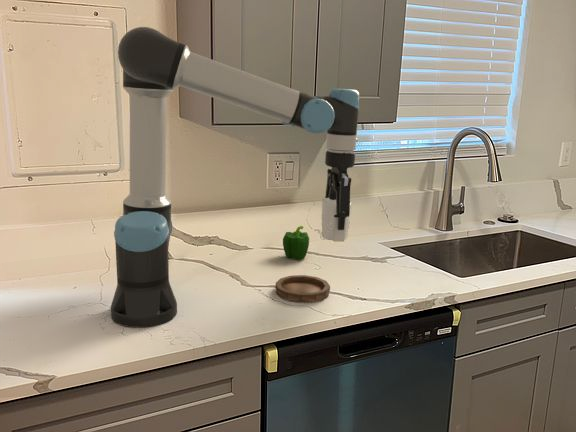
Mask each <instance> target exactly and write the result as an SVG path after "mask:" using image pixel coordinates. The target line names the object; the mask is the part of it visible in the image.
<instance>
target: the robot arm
mask: <svg viewBox="0 0 576 432" xmlns="http://www.w3.org/2000/svg"><path fill="white" fill-rule="evenodd" d="M117 56H118V57H117V59H118V61H119V65H120V66H121V68H122V89H123V90H124V91H125V92H126V93H127V94H128V95H129V194H128V196H127V197H125V198H124V199H123V203H122V205H123V206H122V207H123V209H122V211H123V213H122V216H120V217H119V218H118V219H117V220H116V222H115V224H114V231H113V237H114V240H115V241H114V242H115V257H116V258H115V260H116V263H115V264H116V281H117V283H116V284H117V285H116V288H115V292H114V295H113V298H112V301H111V305H110V319H111V320H112V321H113V322H114V323H116V324H118V325H121V326H124V327H131V328H148V327H155V326H160V325H162V324H164V323H167V322H169V321H171V320H172V319H174V318H175V317H176V316H177V314H178V301H177V299H176V297H175V294H174V291H173V288H172V287H171V283H170V276H169V275H170V273H169V272H170V270H169V269H170V268H169V264H170V263H169V246H170V241H171V240H170V239H171V235H172V232H173V221H172V200H171V199H170V198H169V197H168V196H167V195H166V169H167V167H166V166H167V165H166V163H167V160H166V159H167V158H166V157H167V113H168V111H167V109H168V107H167V106H168V105H167V104H168V103H167V102H168V97H169V96H170V95H171V94H172V93H173V92H174V90H175V89H177V88H180V87H182V88H185V89H188V90H191V91H193V92H196V93H199V94H203V95H204V96H207V97H211V98H214V99H217V100H218V101H219V100H220V101H222V102H225V103H227V104H230V105H234V106H237V107H241V108H243V109H246V110H249V111H252V112H254V113H256V114H260V115H263V116H266V117H270V118H271V119H275V120H278V121H280V122H281V124H283V125H284V126H290V127H297V128H300V129H304V130H305V131H307V132H309V133H312V134H323V133H325V132H326V140H325V141H326V142H325V148H326V149H327V150H326V151H325V161H324V163H325V165H326V166H327V167H330V168H328V169H327V171H326V172H327V179H326V189H325V196H324V198H329V199H331V200H336V204H337V205H336V212H337V215H334V217H335V225H334V239H333V242H334V243H335V242H336V243H339V242H345V240H344V238H345V225H346V217H349V215H350V214H349V212H350V200H351V184H352V177H349V174H348V169H349V168H353V167H354V166H355V160H356V153H355V150H356V147H357V146H356V145H357V143H358V141H359V139H358V138H357V134H358V133H357V132H358V123H359V122H358V120H359V114H360V113H359V112H360V92H359V91H358V90H357V89H350V88H348V89H347V88H331V89H330V90H329V94H328V95H325V96H321V95H319V96H318V95H311V94H308V93H306V92H305V93H304V92H301V91H299V90H297V89H294V88H291V87H288V86H286V85H283V84H280V83H278V82H275V81H272V80H268V79H266V78H264V77H261V76H258V75H256V74H252V73H249V72H247V71H244V70H241V69H239V68H236V67H233V66H230V65H228V64H225V63H222V62H219V61H216V60H215V59H214V60H213V59H211V58H209V57H206V56H203V55H200V54H198V53H195V52H192V51H191V50H190V48H189V46H188V45H186V44H184V43H181V42H179V41H176V40H174V39H172V38H170V37H168V36H166V35H165V34H163V33H162V32H160V31H159V30H157V29H155V28H153V27H148V26H140V27H139V26H138V27H135V28H132V29H130V30H128V31H127V32H126V33H125V34H124V35H123V36H122V38H121V39H120V41H119V43H118V47H117Z"/></svg>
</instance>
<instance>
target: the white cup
mask: <svg viewBox="0 0 576 432" xmlns="http://www.w3.org/2000/svg"><path fill="white" fill-rule="evenodd" d="M336 205H337V204H336V200H331V199H329V198H325V197H324V198H322V200H321V237H322V239H324V240H328V241H333V239H334V225H335V217H334V215H337V212H336ZM352 208H353V200H351V199H350V212H349V214H350V215H349V217H346V225H345V238H344V241H346V240H347V238H348V235H349V229H350V224H351V223H350V222H351V218H352V217H351V215H352ZM333 242H334V241H333Z"/></svg>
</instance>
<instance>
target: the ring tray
mask: <svg viewBox="0 0 576 432" xmlns="http://www.w3.org/2000/svg"><path fill="white" fill-rule="evenodd" d="M330 291H331V285H330V284H329V283H328V281H327V280H325V279H323V278H320V277H318V276H311V275H307V274H304V275H303V274H302V275H301V274H300V275H299V274H298V275H288V276H284V277H281V278H279V279H278V280H277V281H276V282H275V293H276V295H277V296H278V297H279V298H280V299H283V301H287V302H292V303H297V304H312V303H318V302H322V301H324V300H326V299H327V298H329V295H330Z"/></svg>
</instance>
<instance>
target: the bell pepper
mask: <svg viewBox="0 0 576 432" xmlns="http://www.w3.org/2000/svg"><path fill="white" fill-rule="evenodd" d="M303 229H304V226H303V225H299V226H298V227H296V230H295V231H292V232H291V231H286V232H285V233H284V236H283V238H282V247H283V252H284V255H285V256H286V257H287V259H292V260H295V261H301V260H304V259H305V258H306V256H307V254H308V250H309V246H310V237H309V234H308V232H305V231H304V232H302V231H300V230H303Z"/></svg>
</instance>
